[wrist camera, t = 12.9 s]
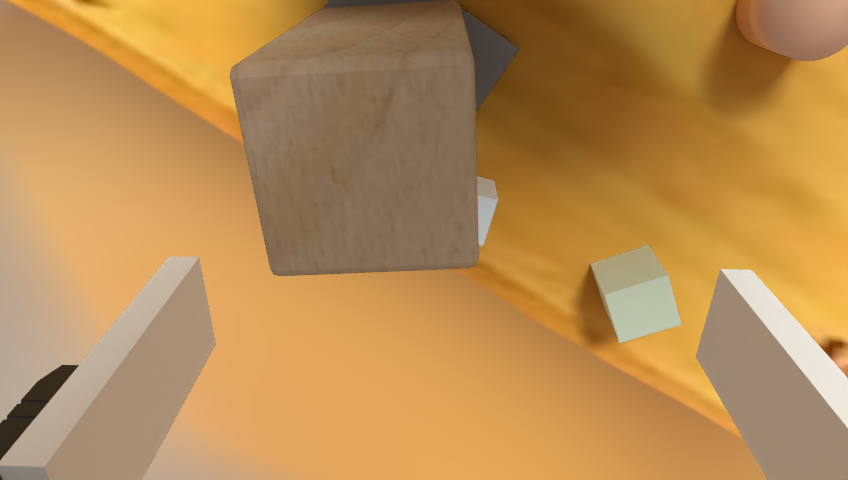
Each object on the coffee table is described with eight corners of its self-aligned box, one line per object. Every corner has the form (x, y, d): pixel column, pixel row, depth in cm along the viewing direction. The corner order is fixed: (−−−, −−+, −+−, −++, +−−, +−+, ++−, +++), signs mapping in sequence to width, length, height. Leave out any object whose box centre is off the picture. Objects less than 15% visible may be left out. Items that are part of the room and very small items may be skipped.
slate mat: (276, 99, 45) (274, 101, 45) (362, -62, 40) (361, -62, 39) (421, 187, 48) (420, 190, 48) (518, 47, 43) (519, 49, 42)
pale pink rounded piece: (745, -44, 40) (783, -41, 36) (837, -48, 40) (886, -45, 35) (727, 48, 43) (760, 62, 38) (813, 45, 42) (856, 59, 38)
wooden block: (335, 145, 46) (269, 280, 28) (316, 8, 42) (223, 66, 24) (464, 138, 46) (479, 271, 28) (460, -2, 41) (474, 50, 23)
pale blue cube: (445, 168, 48) (446, 187, 44) (494, 180, 48) (498, 200, 44) (433, 212, 49) (432, 234, 46) (480, 223, 50) (482, 246, 46)
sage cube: (589, 263, 51) (604, 295, 47) (648, 244, 50) (668, 274, 46) (604, 308, 53) (619, 343, 49) (660, 291, 52) (681, 324, 48)
